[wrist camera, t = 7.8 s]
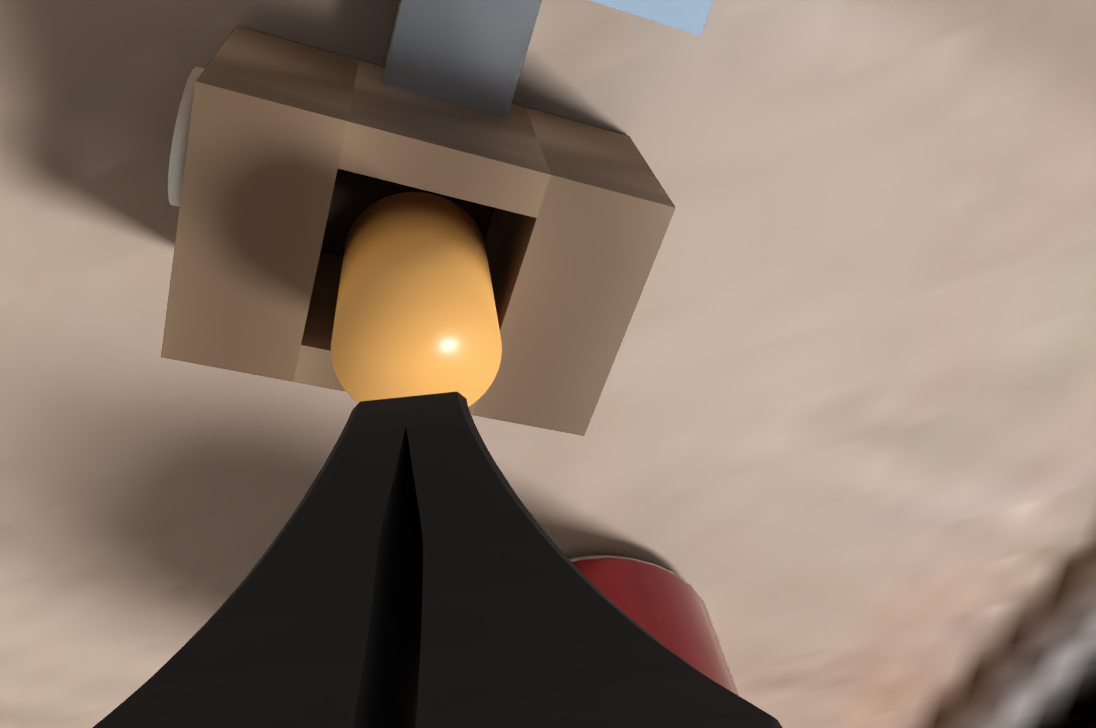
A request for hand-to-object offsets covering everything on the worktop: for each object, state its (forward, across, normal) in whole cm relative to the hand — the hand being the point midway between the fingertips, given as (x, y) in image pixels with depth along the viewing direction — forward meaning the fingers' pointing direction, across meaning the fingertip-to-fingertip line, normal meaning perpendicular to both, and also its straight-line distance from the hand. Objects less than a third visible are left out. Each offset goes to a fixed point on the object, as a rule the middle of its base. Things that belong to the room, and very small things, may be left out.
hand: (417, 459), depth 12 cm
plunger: (+5, 0, 0) cm, 5 cm away
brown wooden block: (+9, 0, 0) cm, 9 cm away
